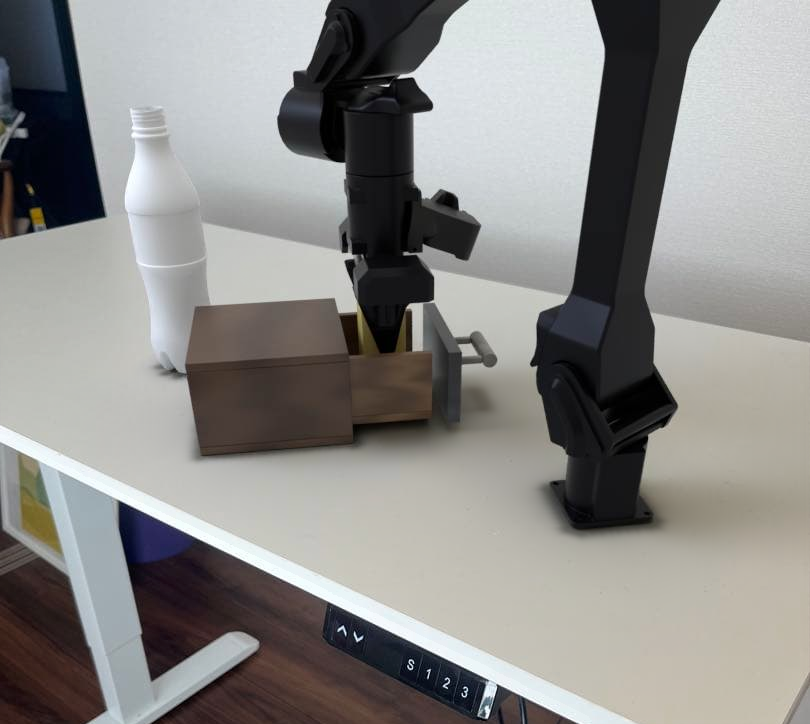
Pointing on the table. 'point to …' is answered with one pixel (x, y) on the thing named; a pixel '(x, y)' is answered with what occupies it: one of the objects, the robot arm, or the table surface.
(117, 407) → the table surface
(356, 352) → the drawer
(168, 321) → the water bottle
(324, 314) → the cabinet
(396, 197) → the robot arm
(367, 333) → the block
